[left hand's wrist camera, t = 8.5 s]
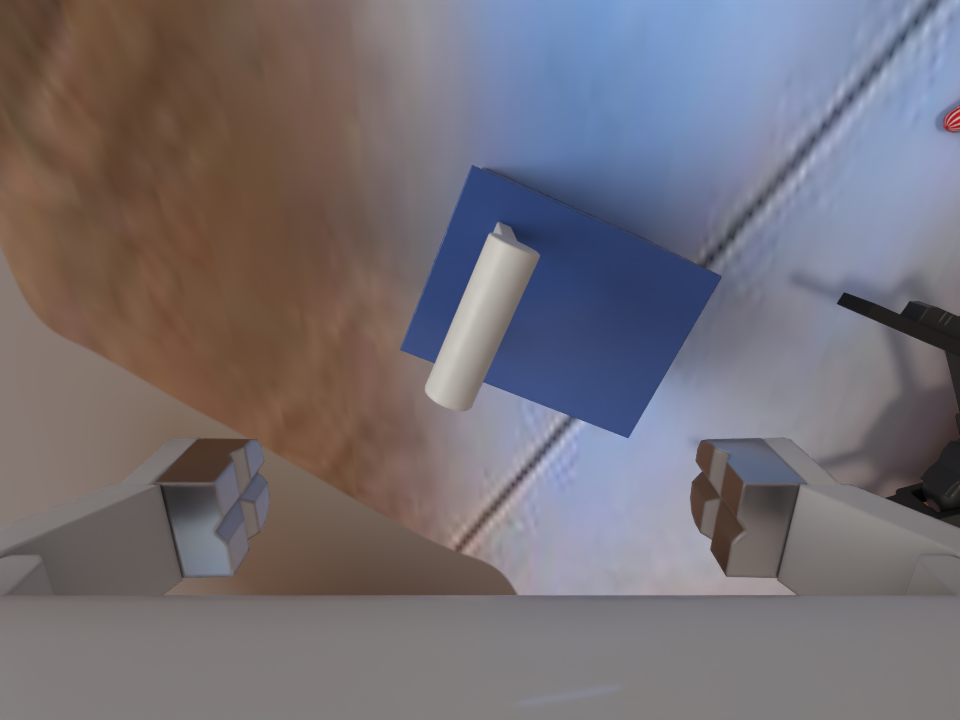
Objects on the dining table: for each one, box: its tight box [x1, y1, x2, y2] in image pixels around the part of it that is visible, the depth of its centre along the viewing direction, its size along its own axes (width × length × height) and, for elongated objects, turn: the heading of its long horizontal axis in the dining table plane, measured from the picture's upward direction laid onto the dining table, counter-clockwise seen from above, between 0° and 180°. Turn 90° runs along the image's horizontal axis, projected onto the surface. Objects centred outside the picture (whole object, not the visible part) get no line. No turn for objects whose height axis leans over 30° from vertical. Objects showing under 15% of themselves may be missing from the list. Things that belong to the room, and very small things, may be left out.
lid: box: [400, 165, 722, 438], centre depth 23 cm, size 13×10×9 cm
